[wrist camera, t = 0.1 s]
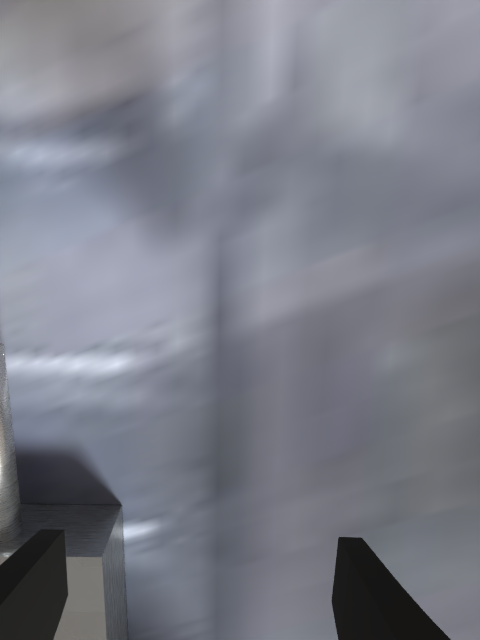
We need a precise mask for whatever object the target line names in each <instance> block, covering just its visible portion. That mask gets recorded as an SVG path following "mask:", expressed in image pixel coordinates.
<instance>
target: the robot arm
mask: <svg viewBox="0 0 480 640" xmlns="http://www.w3.org/2000/svg"><path fill="white" fill-rule="evenodd" d="M67 597H68V582H67V565H66V548H65V531H64V530H51V529H41V530H40V531H38V532H37V533H36V534H35V535H34V536H33V537H31V538H30V539H29V540H28V541H27V542H26V543H25V544H23V545H22V546H21V547H20V548H19V549H18V550H17V551H15V552H14V553H13V554H12V555H11V556H10V557H9V558H8V559H6V560H5V561H4V562H3V563H2V564H1V565H0V640H53V639H54V636H55V633H56V631H57V628H58V625H59V622H60V619H61V616H62V613H63V610H64V607H65V604H66V601H67ZM332 606H333V612H334V618H335V623H336V629H337V634H338V639H339V640H451V639H450V638H449V637H448V636H447V635H446V634H445V633H444V632H443V631H442V630H441V629H440V628H439V627H438V626H437V625H436V624H435V623H434V622H433V621H432V620H431V619H430V618H429V616H428V615H427V614H426V613H425V612H424V611H423V610H422V609H421V608H420V606H419V605H418V604H417V603H416V602H415V601H414V600H413V599H412V597H411V596H410V595H409V594H408V593H407V592H406V591H405V589H404V588H403V587H402V586H401V585H400V584H399V582H398V581H397V580H396V579H395V578H394V576H393V575H392V574H391V573H390V572H389V570H388V569H387V568H386V567H385V566H384V564H383V563H382V562H381V561H380V559H379V558H378V557H377V556H376V554H375V553H374V552H373V551H372V550H371V548H370V547H369V546H368V545H367V543H366V542H365V541H364V540H363V539H362V538H353V537H339V539H338V548H337V557H336V566H335V575H334V585H333V594H332Z"/></svg>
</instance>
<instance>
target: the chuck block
mask: <svg viewBox="0 0 480 640" xmlns="http://www.w3.org/2000/svg"><path fill="white" fill-rule="evenodd" d="M41 529H51V530H64V531H65V548H66V565H67V582H68V597H67V601H66V604H65V607H64V610H63V613H62V616H61V619H60V622H59V625H58V628H57V631H56V633H55V636H54V639H53V640H128V629H127V607H126V585H125V562H124V540H123V518H122V505H37V504H20V495H19V486H18V476H17V467H16V457H15V448H14V438H13V429H12V420H11V410H10V401H9V391H8V382H7V373H6V363H5V354H4V345H3V344H2V343H0V565H1V564H2V563H3V562H4V561H5V560H6V559H8V558H9V557H10V556H11V555H12V554H13V553H14V552H15V551H17V550H18V549H19V548H20V547H21V546H22V545H23V544H25V543H26V542H27V541H28V540H29V539H30V538H31V537H33V536H34V535H35V534H36V533H37V532H38V531H40V530H41Z"/></svg>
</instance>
